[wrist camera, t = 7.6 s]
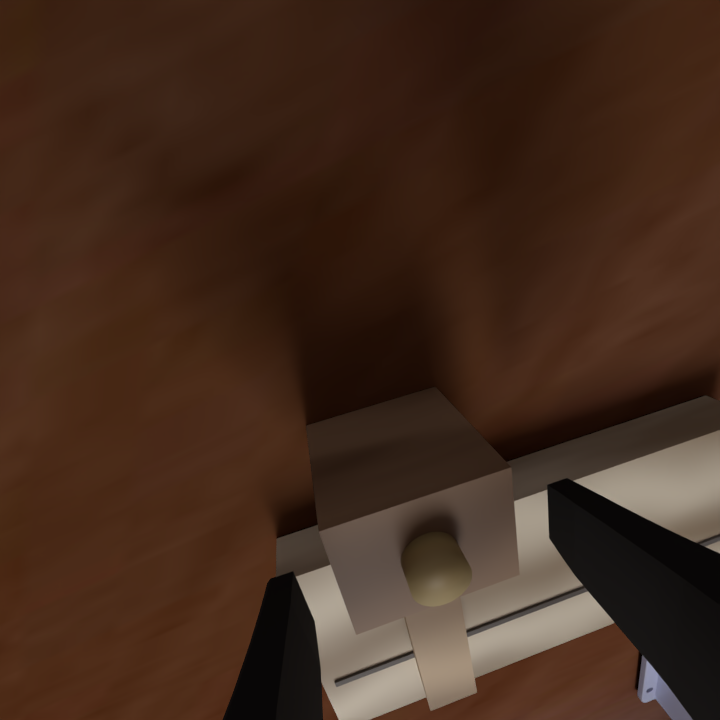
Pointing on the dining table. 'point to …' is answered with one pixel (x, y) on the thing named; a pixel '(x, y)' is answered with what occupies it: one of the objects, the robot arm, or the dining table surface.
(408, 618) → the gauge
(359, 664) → the board
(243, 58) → the dining table surface
